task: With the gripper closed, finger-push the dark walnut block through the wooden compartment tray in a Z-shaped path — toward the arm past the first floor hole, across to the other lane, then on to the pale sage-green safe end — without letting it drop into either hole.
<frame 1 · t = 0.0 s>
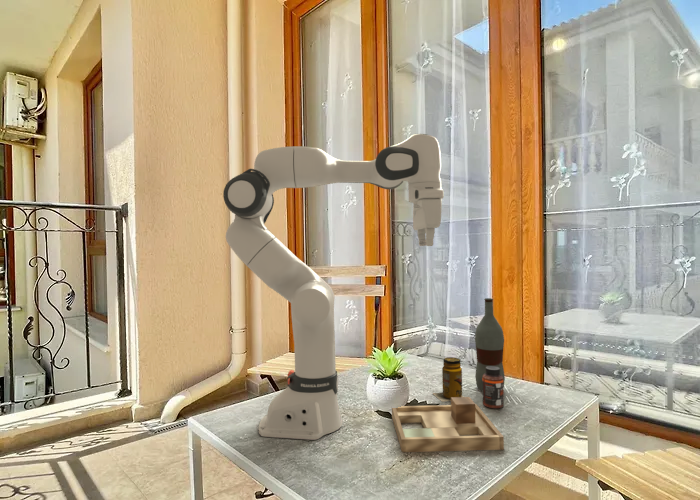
hand: (425, 246, 114), 48 cm above the table, fingers open, 8 cm apart
supplement bottle: (493, 406, 125), on the table
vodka: (490, 389, 139), on the table
condiment: (449, 397, 133), on the table
wooden compartment tray: (442, 431, 108), on the table
walnut block: (463, 419, 111), point 2 cm above the table, touching wooden compartment tray
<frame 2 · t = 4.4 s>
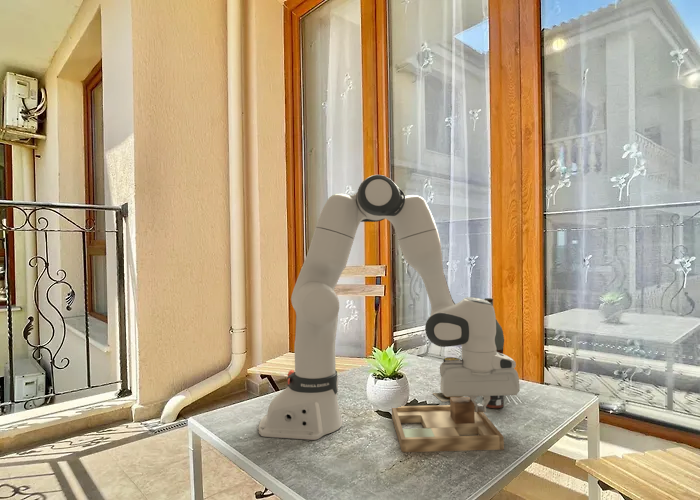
hand: (479, 411, 111), 4 cm above the table, fingers closed
walnut block: (462, 419, 111), point 2 cm above the table, touching gripper
everything else where it was.
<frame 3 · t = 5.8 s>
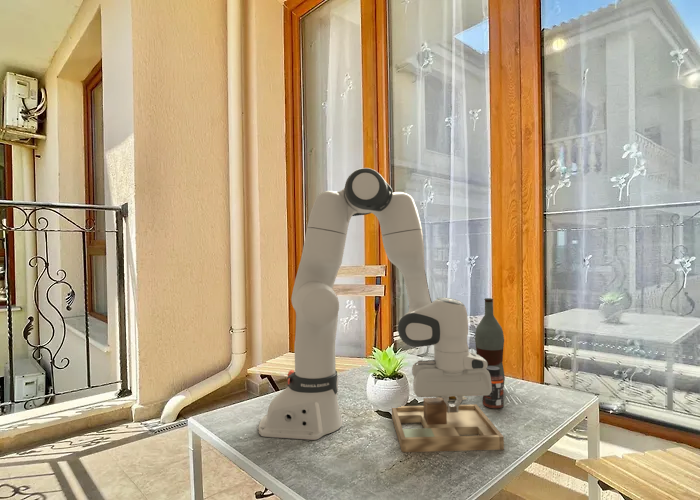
hand: (452, 411, 111), 4 cm above the table, fingers closed
walnut block: (435, 420, 110), point 2 cm above the table, touching gripper, wooden compartment tray
everything else where it was.
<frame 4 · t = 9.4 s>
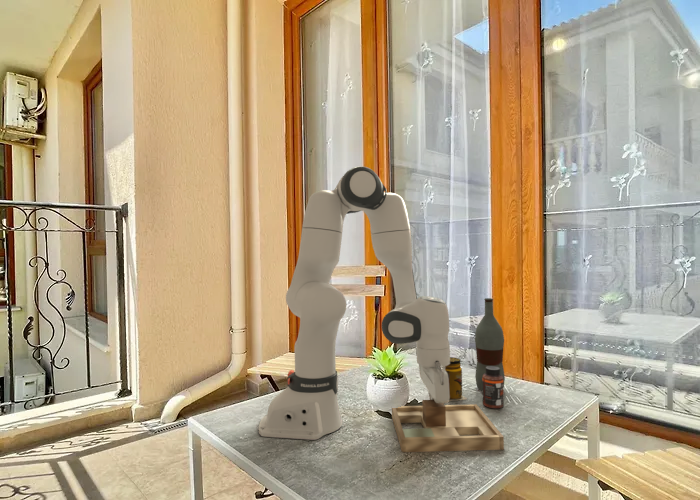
hand: (434, 407, 114), 4 cm above the table, fingers closed
walnut block: (434, 422, 109), point 2 cm above the table, touching gripper
everything else where it was.
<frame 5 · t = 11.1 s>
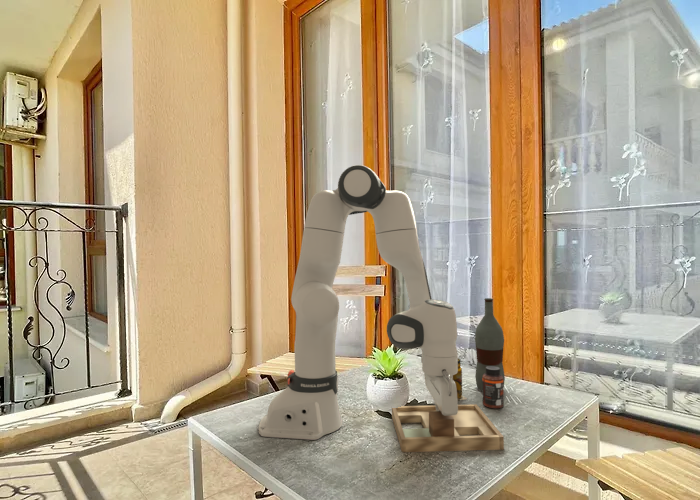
hand: (440, 418, 106), 4 cm above the table, fingers closed
walnut block: (441, 435, 102), point 2 cm above the table, touching gripper, wooden compartment tray
everything else where it was.
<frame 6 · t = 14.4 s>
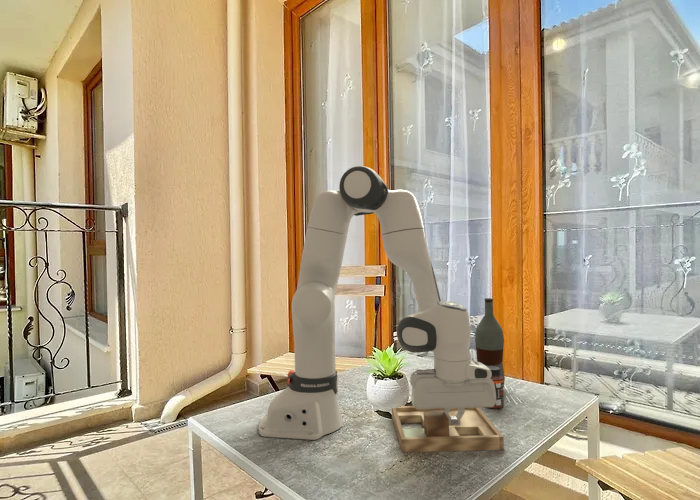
hand: (453, 424, 103), 4 cm above the table, fingers closed
walnut block: (436, 435, 102), point 2 cm above the table, touching gripper
everything else where it was.
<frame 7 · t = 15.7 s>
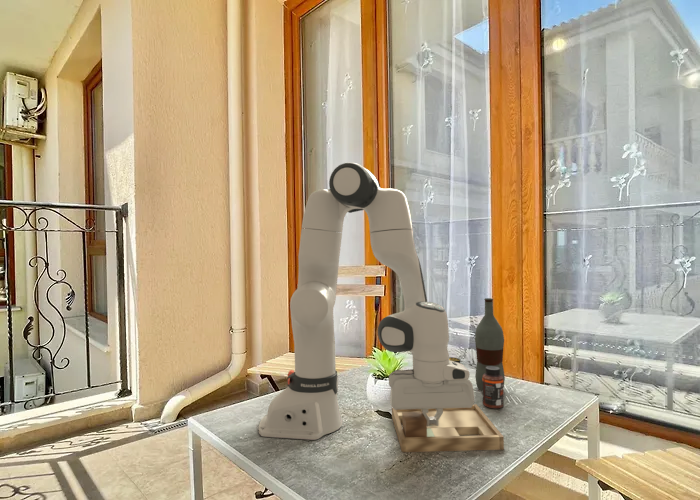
hand: (432, 425, 102), 4 cm above the table, fingers closed
walnut block: (414, 436, 101), point 2 cm above the table, touching gripper, wooden compartment tray
everything else where it was.
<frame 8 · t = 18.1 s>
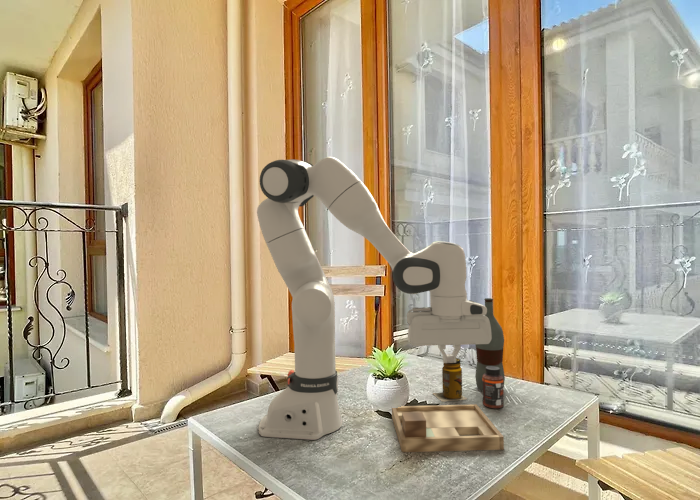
hand: (449, 362, 104), 19 cm above the table, fingers closed
walnut block: (414, 436, 101), point 2 cm above the table, touching wooden compartment tray
everything else where it was.
at the end: walnut block inside the target area on the wooden compartment tray (1.6 cm from its centre), point 1.9 cm above the wooden compartment tray's base; walnut block tilted 0° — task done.
